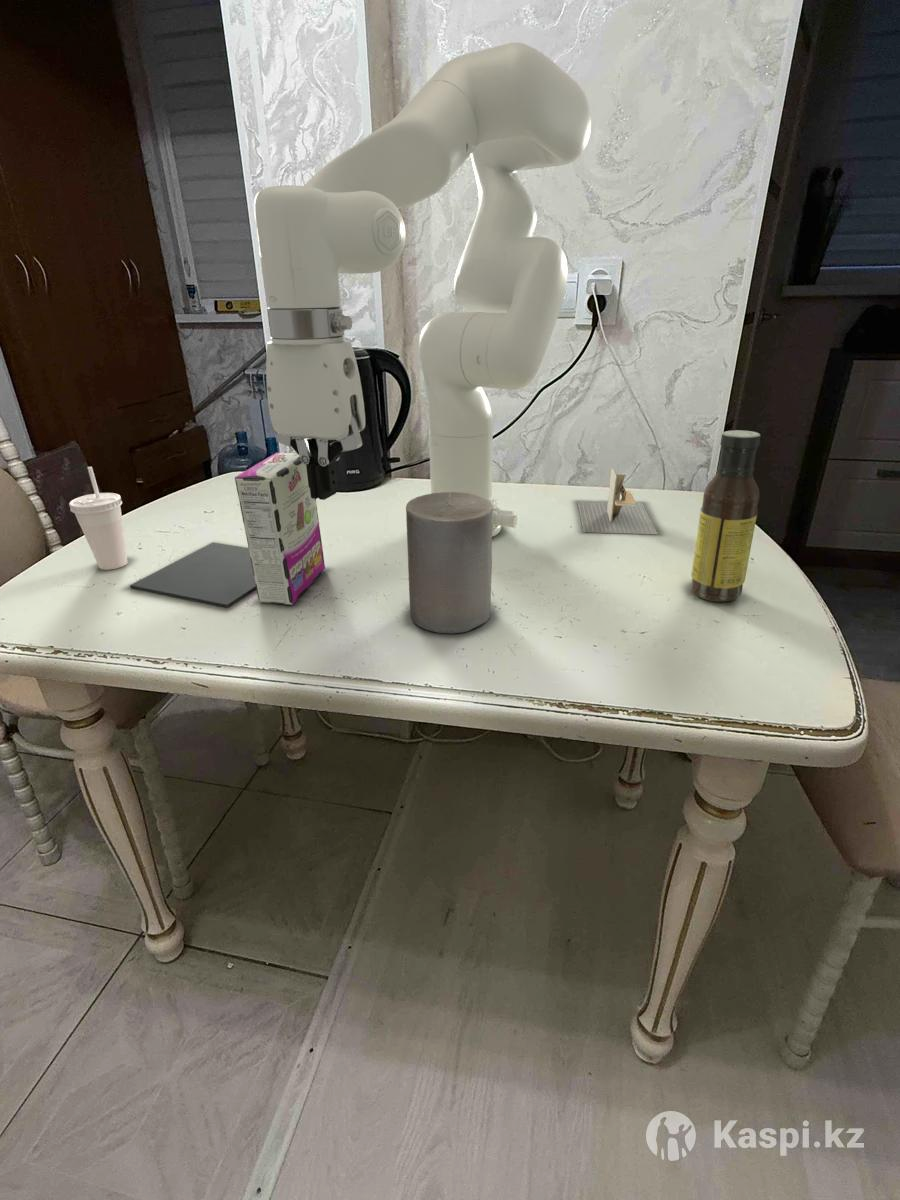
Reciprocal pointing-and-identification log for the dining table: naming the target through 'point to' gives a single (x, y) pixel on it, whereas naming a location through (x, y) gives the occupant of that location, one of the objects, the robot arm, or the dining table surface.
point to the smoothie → (102, 525)
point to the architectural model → (616, 512)
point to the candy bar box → (280, 527)
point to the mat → (205, 576)
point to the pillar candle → (449, 560)
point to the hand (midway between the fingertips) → (324, 495)
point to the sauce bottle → (727, 520)
